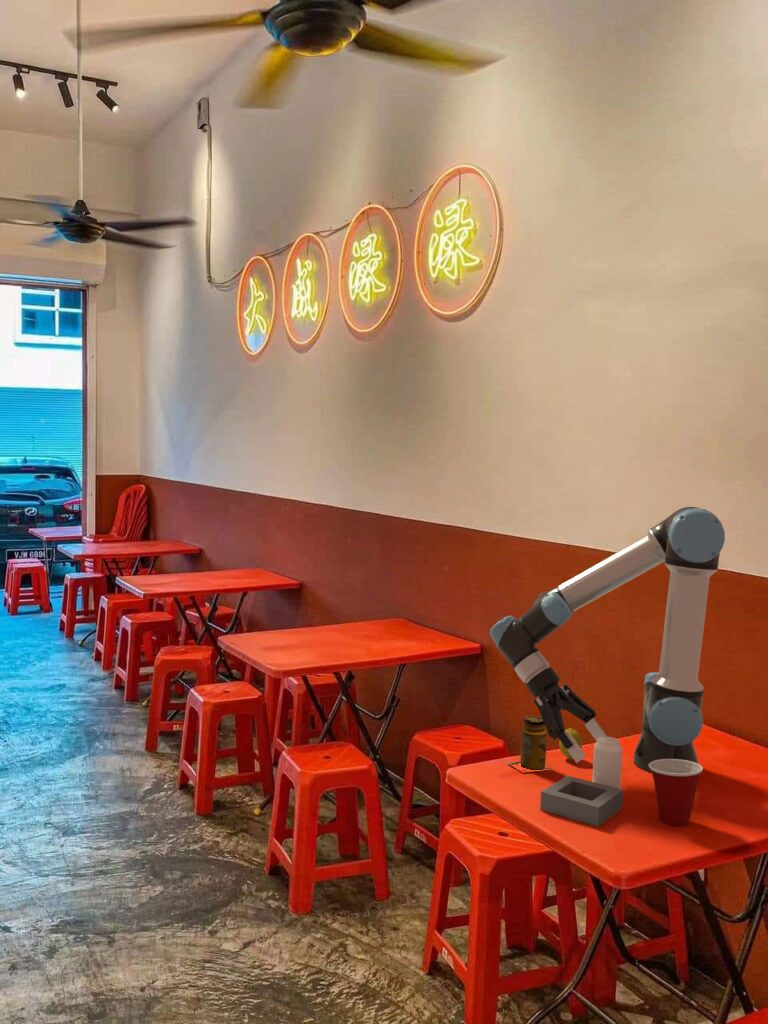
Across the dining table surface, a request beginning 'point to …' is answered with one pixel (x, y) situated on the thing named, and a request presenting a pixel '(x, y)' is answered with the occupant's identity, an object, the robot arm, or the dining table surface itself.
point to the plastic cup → (675, 789)
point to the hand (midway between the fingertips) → (594, 752)
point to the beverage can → (607, 762)
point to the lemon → (576, 738)
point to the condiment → (533, 744)
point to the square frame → (582, 800)
